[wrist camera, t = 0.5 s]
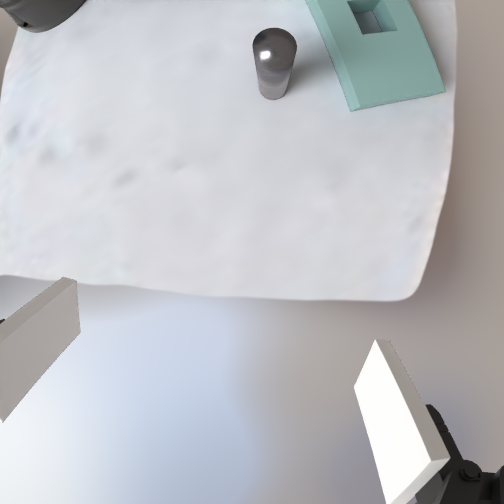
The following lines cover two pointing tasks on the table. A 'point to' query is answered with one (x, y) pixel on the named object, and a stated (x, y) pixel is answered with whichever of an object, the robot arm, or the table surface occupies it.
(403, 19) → the hole block
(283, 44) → the peg
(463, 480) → the robot arm
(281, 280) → the table surface
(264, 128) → the table surface
